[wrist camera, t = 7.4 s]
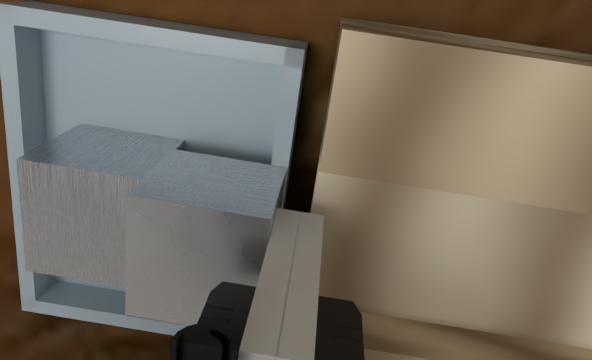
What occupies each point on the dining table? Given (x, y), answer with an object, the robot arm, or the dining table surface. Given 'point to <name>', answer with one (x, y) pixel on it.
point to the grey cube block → (83, 199)
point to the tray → (138, 109)
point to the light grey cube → (196, 232)
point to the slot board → (458, 195)
